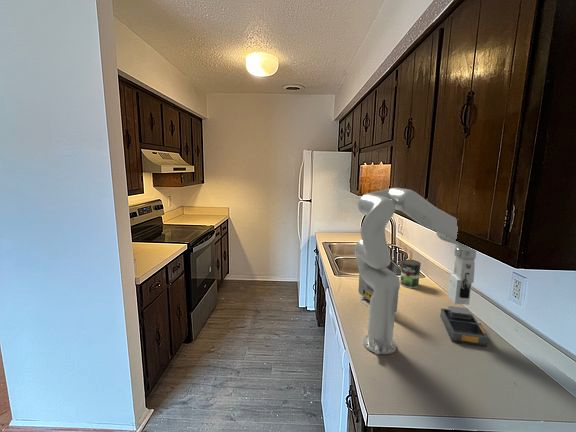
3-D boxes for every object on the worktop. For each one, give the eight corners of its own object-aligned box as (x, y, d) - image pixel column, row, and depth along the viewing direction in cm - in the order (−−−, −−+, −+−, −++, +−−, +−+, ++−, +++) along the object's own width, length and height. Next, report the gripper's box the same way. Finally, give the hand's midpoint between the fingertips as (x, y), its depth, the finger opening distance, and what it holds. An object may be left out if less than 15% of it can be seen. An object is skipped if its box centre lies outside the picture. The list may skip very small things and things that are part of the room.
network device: (400, 316, 143) (403, 276, 139) (385, 319, 139) (388, 279, 136) (367, 294, 166) (369, 259, 162) (353, 296, 163) (355, 261, 159)
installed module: (470, 327, 132) (472, 314, 131) (450, 324, 135) (451, 312, 133) (466, 320, 138) (467, 308, 137) (447, 317, 140) (448, 305, 139)
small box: (469, 305, 123) (472, 280, 121) (454, 304, 124) (457, 279, 122) (460, 296, 131) (463, 273, 129) (447, 295, 131) (449, 272, 130)
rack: (487, 347, 120) (488, 337, 119) (452, 342, 123) (453, 332, 122) (469, 320, 140) (470, 311, 140) (440, 316, 144) (441, 307, 143)
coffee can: (416, 289, 173) (418, 266, 170) (397, 285, 179) (399, 262, 176) (420, 284, 181) (422, 261, 179) (402, 279, 187) (404, 258, 185)
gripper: (483, 260, 114) (478, 303, 117) (468, 248, 131) (463, 285, 134) (462, 259, 116) (457, 301, 119) (449, 246, 132) (445, 284, 136)
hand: (460, 292), depth 126 cm, fingers closed on small box, 8 cm apart
